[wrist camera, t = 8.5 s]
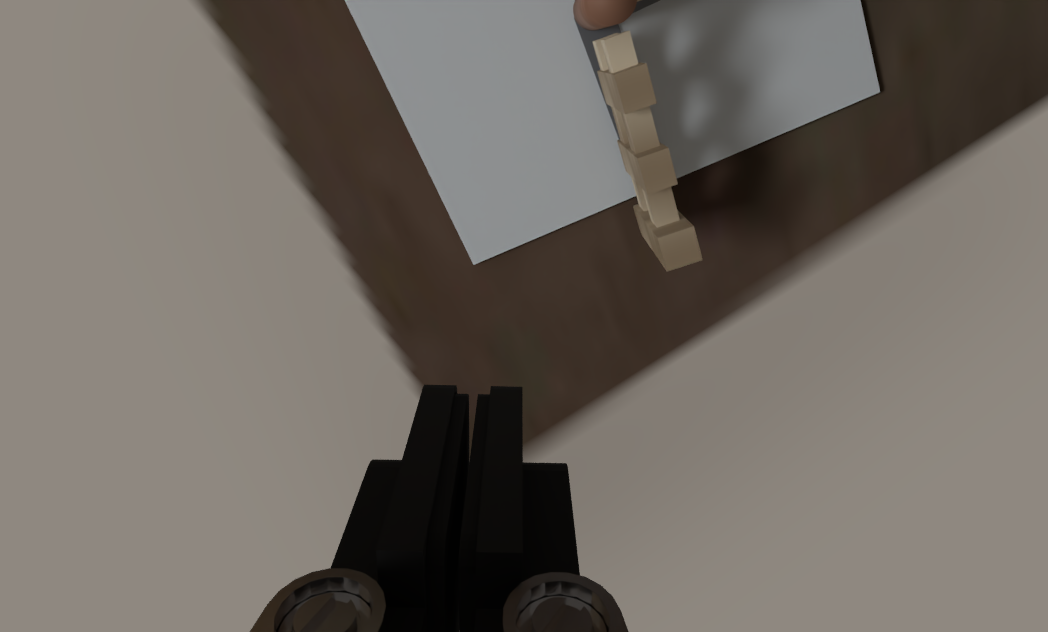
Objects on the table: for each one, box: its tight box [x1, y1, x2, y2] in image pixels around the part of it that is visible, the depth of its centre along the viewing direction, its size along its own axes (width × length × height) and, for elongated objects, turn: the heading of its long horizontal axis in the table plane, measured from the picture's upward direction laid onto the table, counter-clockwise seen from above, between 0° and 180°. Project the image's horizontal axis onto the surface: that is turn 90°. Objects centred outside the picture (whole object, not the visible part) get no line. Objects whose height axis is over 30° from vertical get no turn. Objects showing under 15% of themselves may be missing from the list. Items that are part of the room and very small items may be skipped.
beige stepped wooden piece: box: [573, 0, 702, 271], centre depth 22 cm, size 9×1×5 cm, turn 19°
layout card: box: [345, 0, 880, 265], centre depth 24 cm, size 17×14×1 cm
